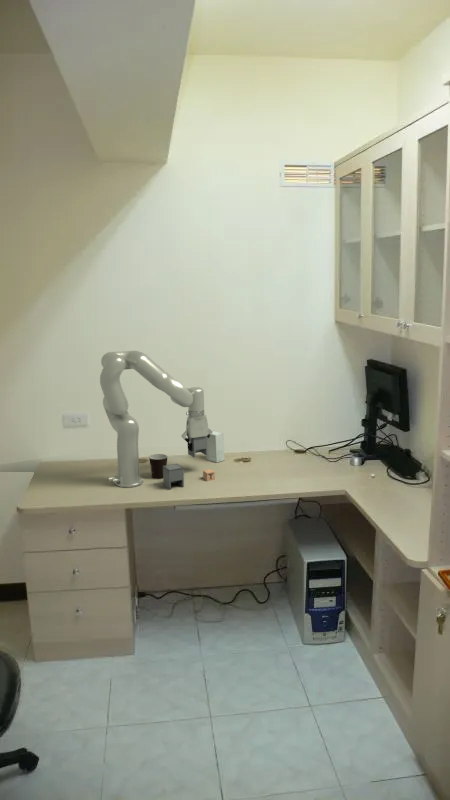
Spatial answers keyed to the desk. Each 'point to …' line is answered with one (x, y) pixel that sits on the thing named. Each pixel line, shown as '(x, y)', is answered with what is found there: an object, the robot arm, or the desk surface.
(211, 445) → the skincare box
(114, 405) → the robot arm
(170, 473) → the cover left
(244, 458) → the desk surface
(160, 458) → the coffee mug
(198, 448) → the cover right
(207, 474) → the letter cube
